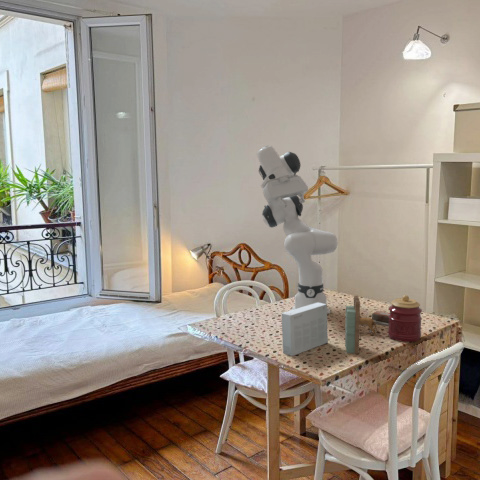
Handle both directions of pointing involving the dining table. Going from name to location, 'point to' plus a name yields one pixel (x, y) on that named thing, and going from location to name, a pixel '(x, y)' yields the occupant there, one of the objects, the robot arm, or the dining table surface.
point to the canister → (405, 320)
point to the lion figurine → (368, 322)
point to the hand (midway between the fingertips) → (294, 204)
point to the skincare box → (304, 328)
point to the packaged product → (381, 318)
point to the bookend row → (352, 327)
